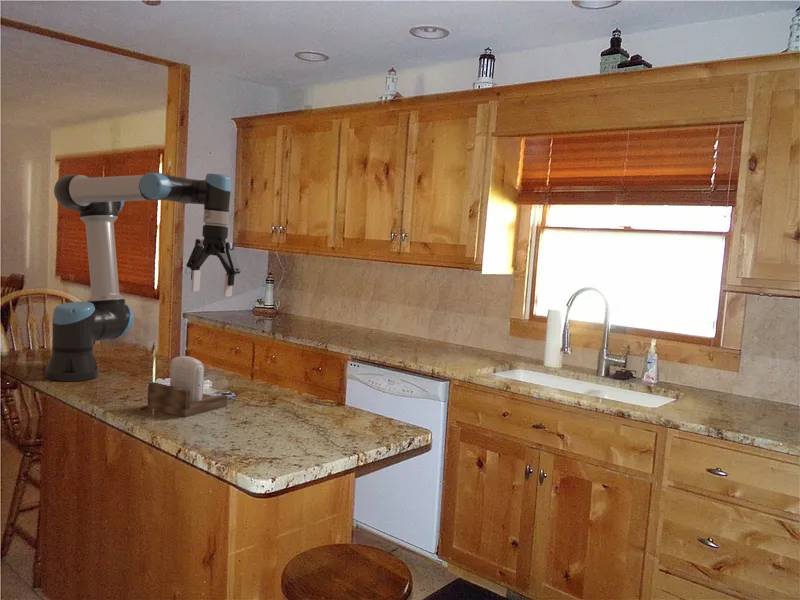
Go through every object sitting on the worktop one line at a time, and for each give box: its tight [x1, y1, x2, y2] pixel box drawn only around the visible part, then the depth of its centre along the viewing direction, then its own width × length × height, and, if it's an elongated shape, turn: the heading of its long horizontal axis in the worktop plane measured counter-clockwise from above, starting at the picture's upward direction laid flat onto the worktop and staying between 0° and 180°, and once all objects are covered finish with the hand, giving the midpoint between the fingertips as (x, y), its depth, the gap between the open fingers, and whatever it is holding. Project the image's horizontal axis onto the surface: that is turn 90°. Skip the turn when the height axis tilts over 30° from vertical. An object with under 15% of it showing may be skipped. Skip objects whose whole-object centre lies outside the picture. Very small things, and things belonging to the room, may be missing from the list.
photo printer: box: [169, 355, 205, 403], centre depth 180 cm, size 10×4×12 cm, turn 60°
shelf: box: [146, 381, 228, 418], centre depth 181 cm, size 14×16×7 cm
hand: (211, 293), depth 201 cm, fingers open, 13 cm apart
